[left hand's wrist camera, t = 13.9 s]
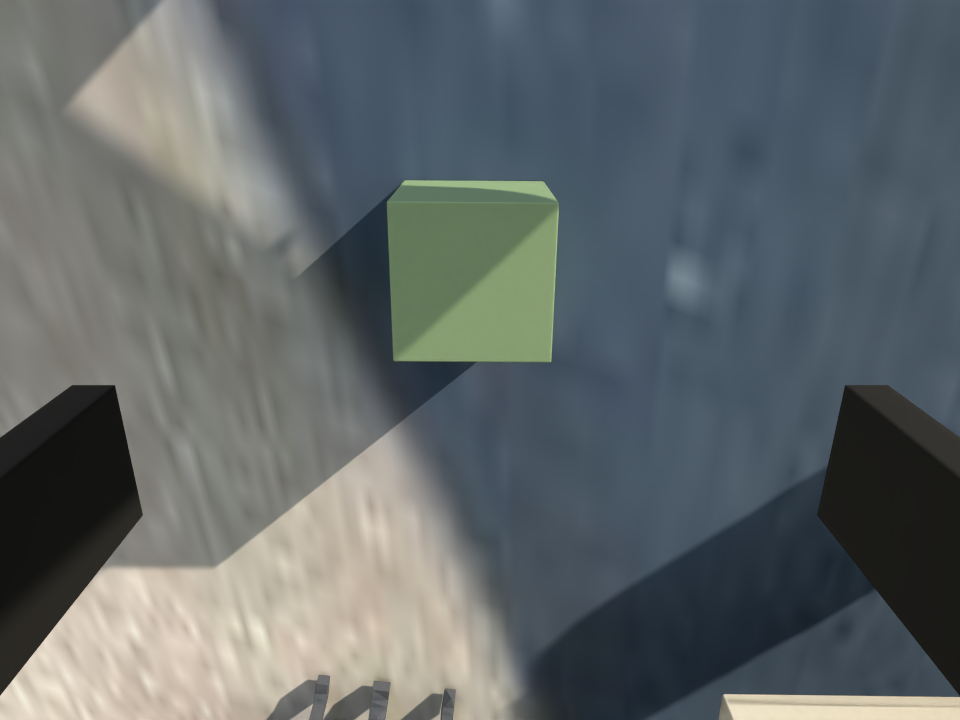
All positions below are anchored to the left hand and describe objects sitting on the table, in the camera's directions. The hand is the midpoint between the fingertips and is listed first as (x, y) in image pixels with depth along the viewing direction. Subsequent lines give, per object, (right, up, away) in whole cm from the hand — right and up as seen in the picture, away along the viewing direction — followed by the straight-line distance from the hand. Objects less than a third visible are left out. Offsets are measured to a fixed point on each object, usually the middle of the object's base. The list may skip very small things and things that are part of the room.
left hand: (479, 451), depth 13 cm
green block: (0, +6, +15) cm, 17 cm away
